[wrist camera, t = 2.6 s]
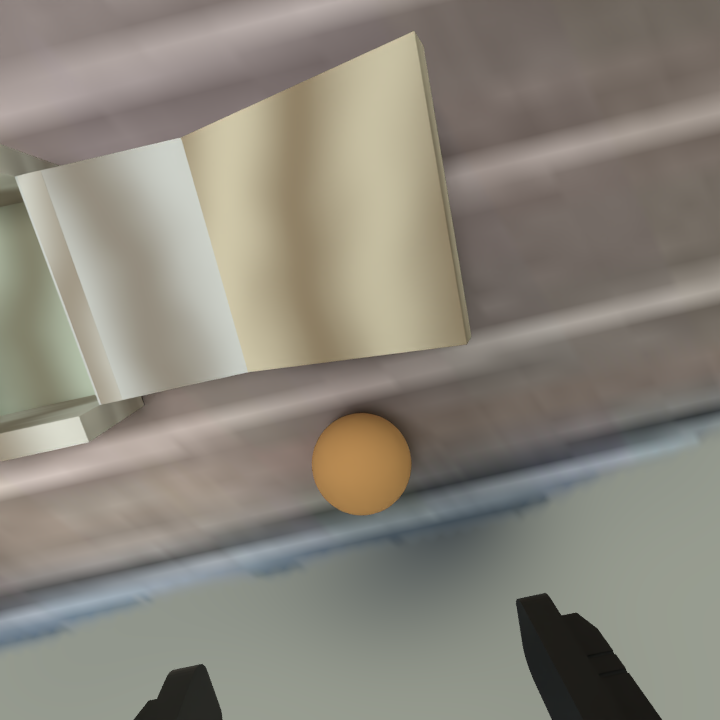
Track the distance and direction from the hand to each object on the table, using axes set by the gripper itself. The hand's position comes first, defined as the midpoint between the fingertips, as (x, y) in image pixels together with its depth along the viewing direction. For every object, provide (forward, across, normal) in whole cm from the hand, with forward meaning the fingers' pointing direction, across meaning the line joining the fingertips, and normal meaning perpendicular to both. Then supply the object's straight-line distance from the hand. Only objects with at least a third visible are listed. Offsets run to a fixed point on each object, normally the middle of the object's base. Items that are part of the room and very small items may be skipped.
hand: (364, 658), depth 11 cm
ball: (+11, 0, 0) cm, 11 cm away
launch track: (+13, +7, -11) cm, 19 cm away
